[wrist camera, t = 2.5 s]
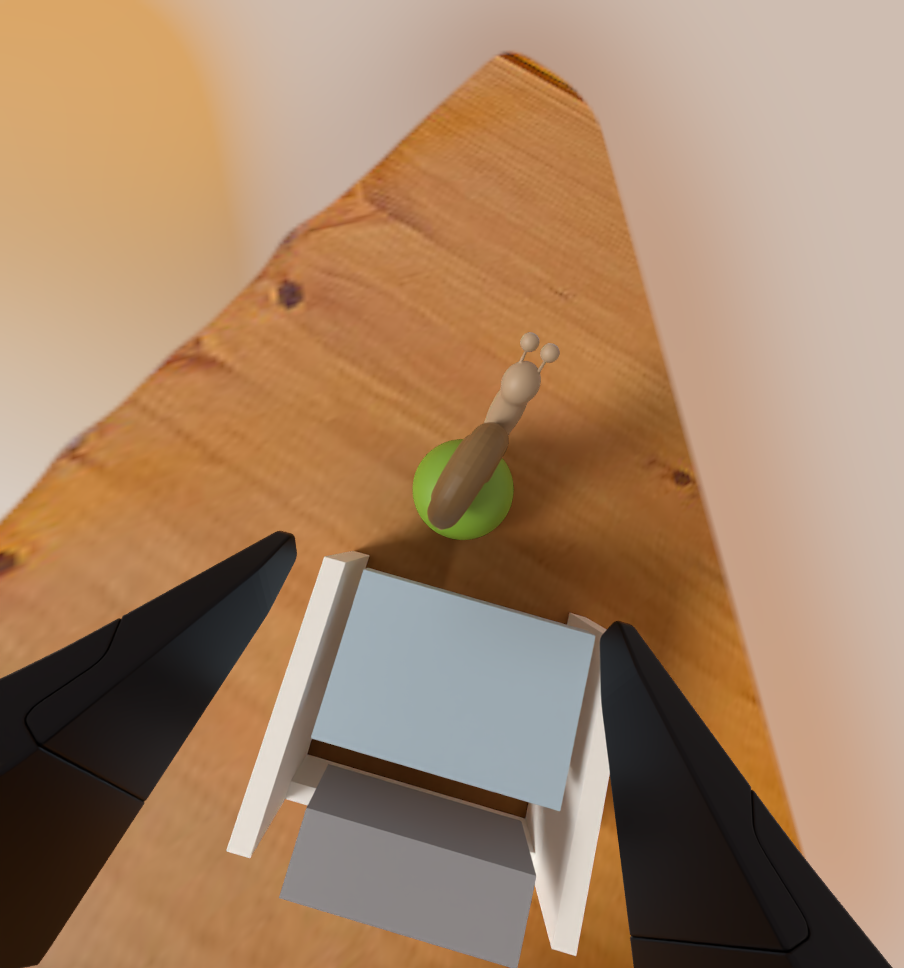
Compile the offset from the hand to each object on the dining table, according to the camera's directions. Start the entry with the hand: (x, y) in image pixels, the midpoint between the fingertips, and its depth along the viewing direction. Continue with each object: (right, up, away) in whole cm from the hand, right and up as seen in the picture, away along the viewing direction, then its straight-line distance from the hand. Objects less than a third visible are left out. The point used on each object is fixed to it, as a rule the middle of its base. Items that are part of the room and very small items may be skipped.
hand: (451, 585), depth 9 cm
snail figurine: (+1, +3, +12) cm, 12 cm away
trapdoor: (0, -8, +6) cm, 10 cm away
